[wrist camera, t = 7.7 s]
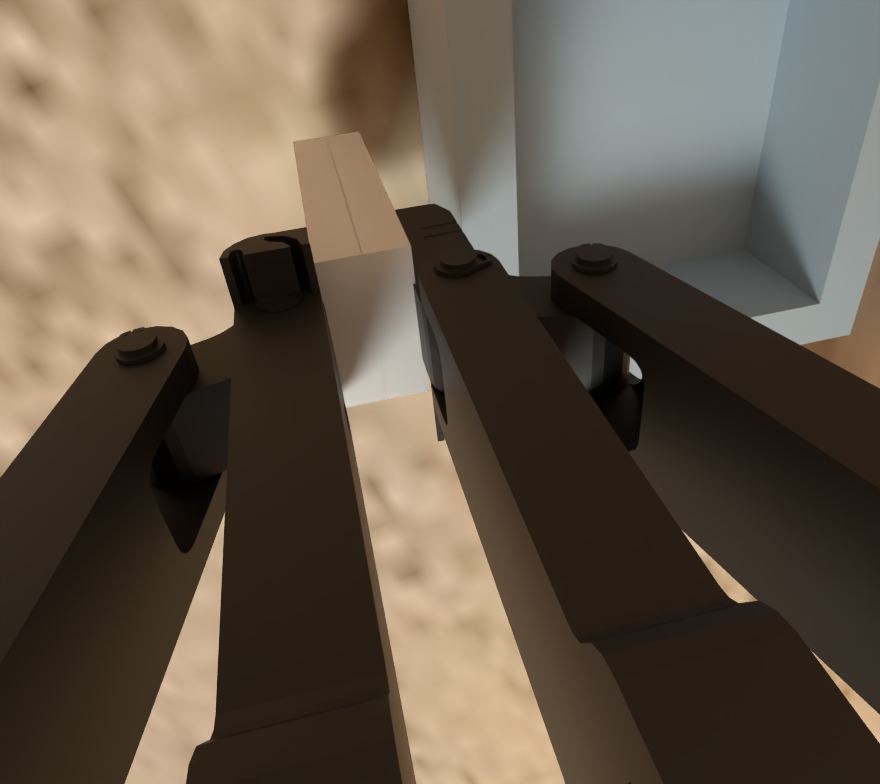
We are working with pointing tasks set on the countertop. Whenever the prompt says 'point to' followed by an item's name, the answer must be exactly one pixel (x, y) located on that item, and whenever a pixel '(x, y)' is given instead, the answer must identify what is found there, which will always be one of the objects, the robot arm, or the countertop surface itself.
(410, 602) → the countertop surface
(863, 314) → the base
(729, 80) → the blue gray square tray
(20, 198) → the countertop surface
